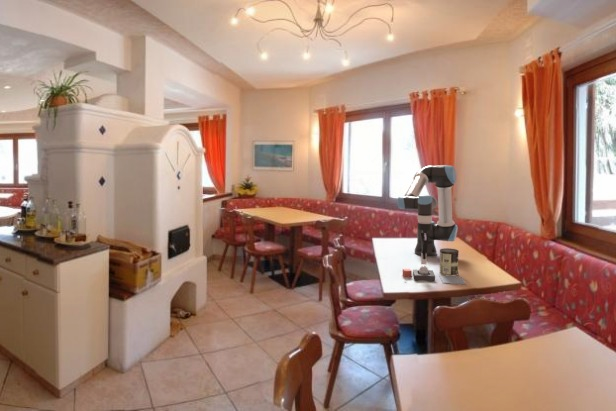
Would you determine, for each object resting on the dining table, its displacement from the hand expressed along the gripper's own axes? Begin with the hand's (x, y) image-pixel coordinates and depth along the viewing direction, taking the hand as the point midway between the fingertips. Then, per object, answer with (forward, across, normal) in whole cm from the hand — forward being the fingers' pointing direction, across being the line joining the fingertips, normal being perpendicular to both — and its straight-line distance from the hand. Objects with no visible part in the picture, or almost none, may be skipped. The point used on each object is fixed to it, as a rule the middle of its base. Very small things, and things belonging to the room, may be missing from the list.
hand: (423, 264), depth 200 cm
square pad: (+8, +2, +15) cm, 17 cm away
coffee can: (+8, -11, +15) cm, 20 cm away
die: (+8, -2, -9) cm, 12 cm away
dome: (+6, 0, 0) cm, 6 cm away
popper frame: (+8, 0, 0) cm, 8 cm away
